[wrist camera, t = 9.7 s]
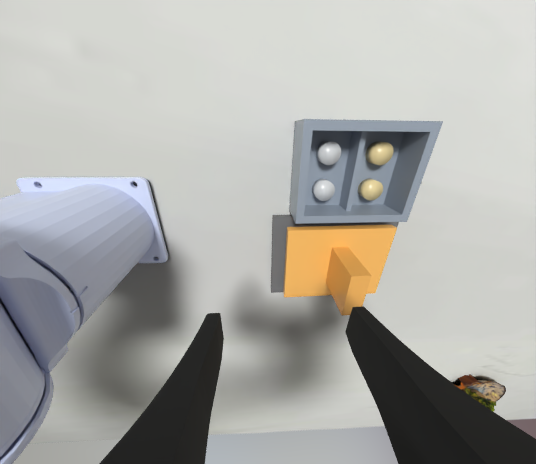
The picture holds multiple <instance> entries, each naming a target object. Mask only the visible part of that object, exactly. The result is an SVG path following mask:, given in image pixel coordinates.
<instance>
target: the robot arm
mask: <svg viewBox="0 0 536 464" xmlns="http://www.w3.org/2000/svg"><path fill="white" fill-rule="evenodd" d="M133 181H135V182H136V183H137V186H135V185H134V184H133ZM16 183H17V186H18V187H19V189H20V191H21V193H18V194H14V195H10V196H7V197H3V198H0V464H12V463H13V462H14V461H15V460H16V459H17V458H18V456H19V455H20V454H21V453H22V452H23V450H24V449H25V448H26V446H27V445H28V444H29V442H30V441H31V440H32V438H33V437H34V435H35V434H36V432H37V431H38V429H39V427H40V426H41V424H42V423H43V421H44V418H45V416H46V414H47V412H48V410H49V408H50V404H51V401H52V398H53V388H54V385H53V380H52V377H51V375H50V372H51V371H52V369H53V368H54V367H55V366H56V365H57V363H58V362H59V361H60V360H61V359H62V357H63V356H64V355H65V354H66V353H67V352H68V347H67V343H68V341H69V340H70V339H71V338H72V336H73V335H74V334H75V333H76V332H77V331H78V330H79V329H80V327H81V326H82V325H83V324H84V323H85V322H86V321H87V320H88V318H89V317H90V316H91V315H92V314H93V313H94V312H95V310H96V309H97V308H98V307H99V306H100V305H101V304H102V302H103V301H104V300H105V299H106V298H107V297H108V296H109V294H110V293H111V292H112V291H113V290H114V289H115V288H116V287H117V285H118V284H119V283H120V282H121V281H122V280H123V279H124V277H125V276H126V275H127V274H128V273H129V272H130V271H131V269H132V268H133V267H134V266H135V265H136V264H137V263H164V262H166V261H167V260H168V253H167V250H166V246H165V242H164V238H163V234H162V230H161V227H160V223H159V219H158V215H157V211H156V207H155V204H154V200H153V196H152V192H151V188H150V184H149V182H148V180H147V179H145V178H143V177H24V178H19V179H17V181H16ZM39 183H40V184H41V185H42V186H40V184H39ZM155 257H158V258H159V259H157V258H155ZM346 335H347V338H348V341H349V344H350V347H351V349H352V352H353V354H354V357H355V359H356V361H357V363H358V365H359V368H360V370H361V372H362V374H363V376H364V378H365V380H366V383H367V385H368V387H369V389H370V391H371V393H372V395H373V398H374V400H375V402H376V404H377V407H378V409H379V412H380V414H381V417H382V420H383V422H384V425H385V428H386V430H387V432H388V436H389V438H390V441H391V444H392V447H393V450H394V452H395V455H396V458H397V461H398V464H536V439H535V438H533V437H532V436H530V435H528V434H527V433H525V432H524V431H522V430H521V429H519V428H517V427H516V426H514V425H513V424H511V423H509V422H508V421H506V420H505V419H503V418H502V417H500V416H499V415H497V414H496V413H494V412H493V411H491V410H490V409H488V408H487V407H485V406H484V405H482V404H481V403H479V402H478V401H477V400H475V399H474V398H472V397H471V396H469V395H468V394H466V393H465V392H464V391H462V390H461V389H460V388H458V387H457V386H455V385H454V384H453V383H451V382H450V381H449V380H447V379H446V378H445V377H443V376H442V375H441V374H440V373H438V372H437V371H436V370H434V369H433V368H432V367H431V366H429V365H428V364H427V363H426V362H424V361H423V360H422V359H421V358H420V357H418V356H417V355H416V354H415V353H414V352H412V351H411V350H410V349H409V348H408V347H407V346H406V345H404V344H403V343H402V342H401V341H400V340H399V339H398V338H397V337H396V336H394V335H393V334H392V333H391V332H390V331H389V330H388V329H387V328H386V327H385V326H384V325H383V324H382V323H380V322H379V321H378V320H377V319H376V318H375V317H374V316H373V315H372V314H371V313H370V312H369V311H368V310H367V309H366V308H364V307H352V311H351V314H350V318H349V321H348V325H347V328H346ZM223 339H224V338H223V331H222V323H221V316H220V313H210V314H207V315H206V317H205V319H204V321H203V323H202V325H201V327H200V329H199V331H198V333H197V334H196V336H195V338H194V340H193V341H192V343H191V345H190V346H189V348H188V350H187V351H186V353H185V355H184V356H183V358H182V359H181V361H180V362H179V364H178V365H177V367H176V368H175V370H174V371H173V373H172V374H171V376H170V377H169V379H168V380H167V381H166V383H165V384H164V386H163V387H162V388H161V390H160V391H159V393H158V394H157V395H156V397H155V398H154V399H153V401H152V402H151V403H150V404H149V406H148V407H147V408H146V409H145V411H144V412H143V413H142V414H141V416H140V417H139V418H138V419H137V421H136V422H135V423H134V424H133V426H132V427H131V428H130V429H129V430H128V432H127V433H126V434H125V435H124V436H123V438H122V439H121V440H120V441H119V442H118V443H117V444H116V446H115V447H114V448H113V449H112V450H111V451H110V452H109V454H108V455H107V456H106V457H105V458H104V459H103V460H102V461H101V463H100V464H205V456H206V447H207V439H208V431H209V423H210V417H211V411H212V406H213V401H214V396H215V391H216V386H217V380H218V375H219V370H220V365H221V360H222V350H223Z"/></svg>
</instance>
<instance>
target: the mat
mask: <svg viewBox="0 0 536 464" xmlns="http://www.w3.org/2000/svg"><path fill="white" fill-rule="evenodd" d="M398 223H399V222H359V223H303V224H296V223H295V221H294V219H293V217H292V215H273V224H272V267H271V293H274V292H283V291H284V273H285V255H286V237H287V227H311V226H355V225H393V226H395V227H396V228H397V226H398Z"/></svg>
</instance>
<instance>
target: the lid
mask: <svg viewBox="0 0 536 464" xmlns="http://www.w3.org/2000/svg"><path fill="white" fill-rule="evenodd" d="M396 230H397V228H396V227H395V226H393V225H355V226H311V227H287V237H286V255H285V273H284V291H283V293H284V297H301V296H323V295H332V296H333V298H334V300H335V302H336V304H337V307H338V309H339V311H340V313H341V315H350V314H351V311H352V307H362V305H363V302H364V299H365V296H366V294H368V293H375V292H376V289H377V286H378V283H379V280H380V277H381V274H382V271H383V268H384V265H385V262H386V259H387V256H388V253H389V250H390V247H391V244H392V242H393V239H394V236H395V233H396Z"/></svg>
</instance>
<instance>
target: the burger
mask: <svg viewBox="0 0 536 464" xmlns="http://www.w3.org/2000/svg"><path fill="white" fill-rule="evenodd" d="M458 379H459V380H460V381H461V385H459V386H457V387H458V388H460V389H461V390H462V391H464V392H465V393H466V394H468V395H469V396H471V397H472V398H474V399H475V400H477V401H478V402H479V403H481V404H482V405H484V406H485V407H487V408H488V409H490V410H491V411H494V406H496V401H498V400H499V399H500V398H501V397H502V396H503V395H504V394H505V392H506V388H505V386H503V385H501V384H499V383H497V382H492V381H484V380H476V379H475V378H474V377H473V376H472V375H469V376H468V375H464V376H462V377H460V378H458ZM454 385H455V384H454ZM455 386H456V385H455Z"/></svg>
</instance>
